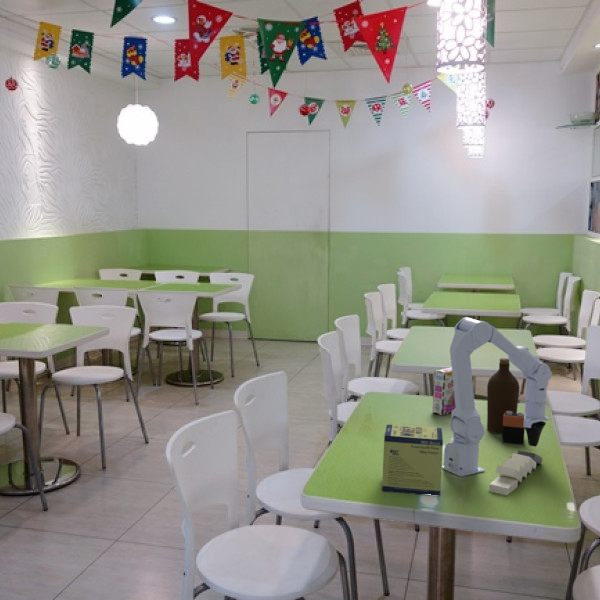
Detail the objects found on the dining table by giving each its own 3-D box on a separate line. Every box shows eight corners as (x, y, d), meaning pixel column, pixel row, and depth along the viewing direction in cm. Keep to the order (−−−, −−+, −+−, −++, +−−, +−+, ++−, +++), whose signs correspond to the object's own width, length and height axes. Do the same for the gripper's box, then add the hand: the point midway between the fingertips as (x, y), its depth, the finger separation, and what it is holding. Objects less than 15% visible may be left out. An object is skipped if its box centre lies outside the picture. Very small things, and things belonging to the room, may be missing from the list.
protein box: (441, 496, 180) (443, 439, 179) (381, 491, 183) (383, 435, 181) (440, 481, 191) (442, 427, 189) (383, 477, 193) (385, 423, 191)
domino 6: (525, 454, 209) (518, 450, 203) (542, 457, 206) (535, 453, 200) (524, 460, 209) (516, 456, 202) (541, 464, 206) (534, 460, 199)
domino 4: (530, 473, 198) (523, 467, 192) (513, 469, 201) (506, 463, 195) (532, 466, 198) (525, 460, 192) (515, 463, 201) (507, 456, 195)
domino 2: (517, 486, 188) (507, 495, 182) (499, 482, 191) (489, 491, 185) (517, 479, 188) (507, 488, 181) (499, 475, 191) (489, 483, 184)
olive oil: (505, 436, 231) (509, 363, 228) (478, 429, 239) (482, 358, 236) (523, 431, 238) (527, 360, 235) (497, 423, 246) (500, 354, 243)
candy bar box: (443, 416, 255) (444, 372, 253) (431, 413, 258) (433, 370, 256) (460, 410, 262) (462, 368, 260) (449, 408, 266) (451, 366, 264)
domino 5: (535, 469, 201) (528, 463, 195) (518, 465, 204) (510, 459, 198) (536, 462, 202) (529, 456, 196) (519, 459, 205) (512, 453, 199)
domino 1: (521, 482, 191) (514, 476, 185) (503, 478, 194) (495, 472, 188) (522, 475, 192) (515, 469, 185) (505, 471, 194) (497, 465, 188)
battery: (502, 438, 229) (503, 409, 228) (523, 441, 227) (525, 411, 226) (501, 442, 225) (503, 412, 224) (523, 445, 223) (525, 415, 222)
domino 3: (526, 478, 194) (518, 472, 188) (508, 474, 197) (500, 468, 191) (527, 471, 195) (520, 464, 189) (510, 467, 198) (502, 460, 192)
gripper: (542, 408, 196) (539, 454, 198) (556, 398, 208) (553, 441, 209) (517, 404, 200) (514, 449, 202) (532, 394, 212) (530, 437, 214)
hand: (533, 445), depth 206 cm, fingers closed
